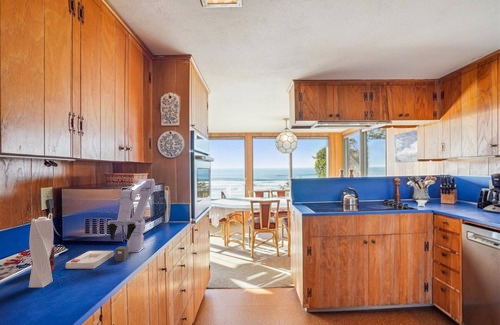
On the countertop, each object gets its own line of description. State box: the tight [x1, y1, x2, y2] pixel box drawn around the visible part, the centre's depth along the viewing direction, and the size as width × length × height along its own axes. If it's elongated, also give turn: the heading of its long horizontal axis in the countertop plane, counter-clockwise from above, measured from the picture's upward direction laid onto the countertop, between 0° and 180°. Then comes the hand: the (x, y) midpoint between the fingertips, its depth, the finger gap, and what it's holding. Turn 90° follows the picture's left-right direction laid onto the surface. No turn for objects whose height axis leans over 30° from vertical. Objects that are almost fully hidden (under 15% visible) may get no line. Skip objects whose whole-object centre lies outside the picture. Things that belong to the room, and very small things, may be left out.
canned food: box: [31, 243, 55, 272], centre depth 120 cm, size 8×8×11 cm
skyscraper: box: [28, 212, 54, 288], centre depth 107 cm, size 8×8×28 cm
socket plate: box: [65, 250, 115, 270], centre depth 132 cm, size 18×13×3 cm
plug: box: [114, 245, 129, 262], centre depth 136 cm, size 7×4×6 cm
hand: (119, 239), depth 133 cm, fingers open, 7 cm apart
